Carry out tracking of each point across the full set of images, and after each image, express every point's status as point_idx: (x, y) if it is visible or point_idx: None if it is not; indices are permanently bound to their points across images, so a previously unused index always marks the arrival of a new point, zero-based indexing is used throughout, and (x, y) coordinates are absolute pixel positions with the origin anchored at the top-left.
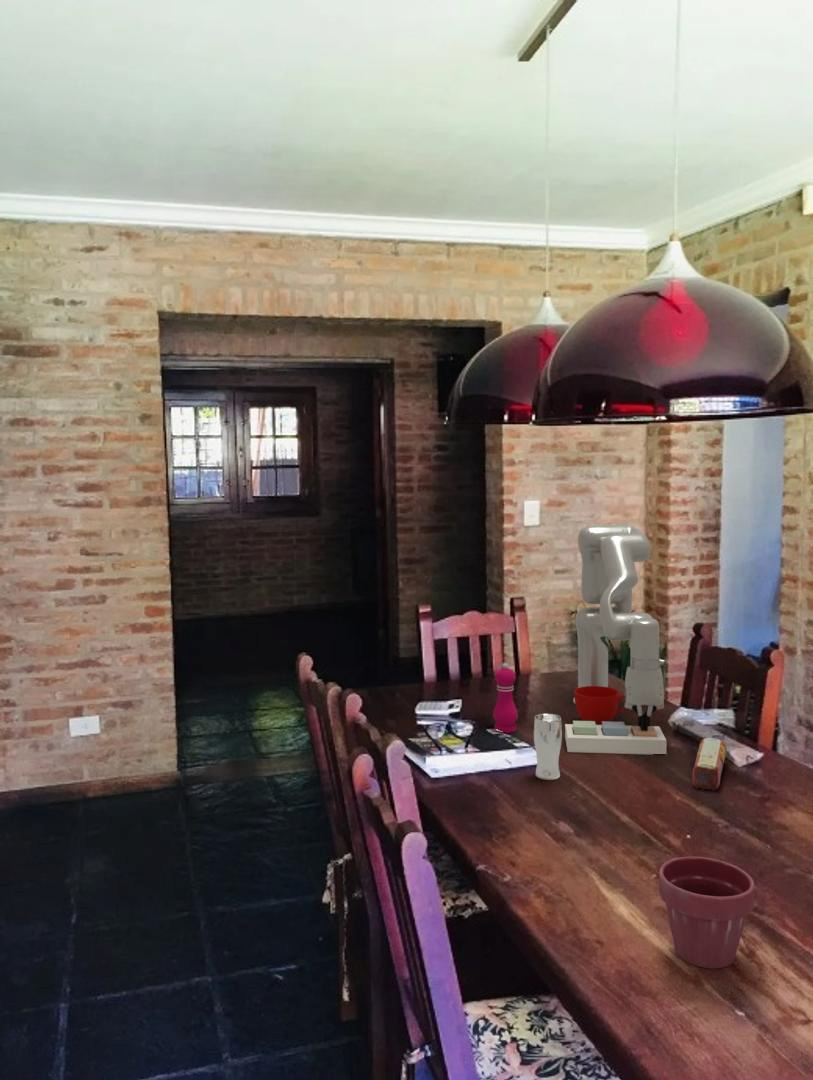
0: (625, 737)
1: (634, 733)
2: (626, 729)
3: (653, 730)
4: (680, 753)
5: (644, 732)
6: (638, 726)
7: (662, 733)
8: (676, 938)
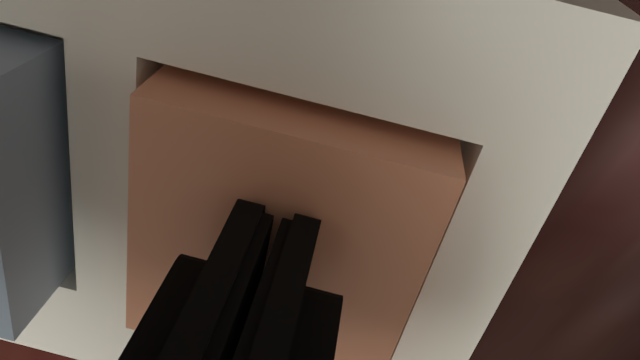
0: (49, 315)
1: (133, 319)
2: (19, 330)
3: (377, 320)
4: (552, 335)
5: None
6: (232, 143)
7: (495, 304)
8: None
